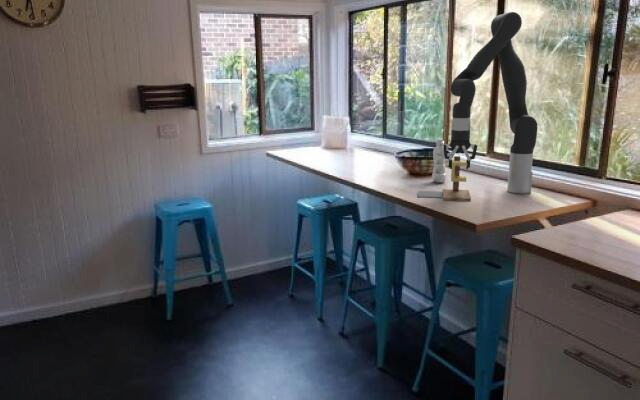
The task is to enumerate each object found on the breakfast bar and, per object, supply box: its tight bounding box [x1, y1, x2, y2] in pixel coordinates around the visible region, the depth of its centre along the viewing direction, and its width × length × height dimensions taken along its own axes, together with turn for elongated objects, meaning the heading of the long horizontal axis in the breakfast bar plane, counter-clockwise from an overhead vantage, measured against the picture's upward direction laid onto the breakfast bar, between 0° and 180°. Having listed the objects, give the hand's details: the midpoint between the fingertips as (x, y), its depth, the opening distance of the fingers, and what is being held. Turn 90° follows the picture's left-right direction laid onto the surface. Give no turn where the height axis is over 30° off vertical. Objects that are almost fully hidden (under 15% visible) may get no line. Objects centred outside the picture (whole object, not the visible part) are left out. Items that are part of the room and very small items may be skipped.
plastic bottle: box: [431, 140, 447, 184], centre depth 240 cm, size 6×7×20 cm
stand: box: [442, 155, 472, 202], centre depth 214 cm, size 11×15×16 cm
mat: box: [417, 190, 443, 199], centre depth 220 cm, size 10×10×1 cm
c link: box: [450, 160, 467, 183], centre depth 213 cm, size 6×4×8 cm, turn 78°
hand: (458, 168), depth 212 cm, fingers closed on c link, 6 cm apart
